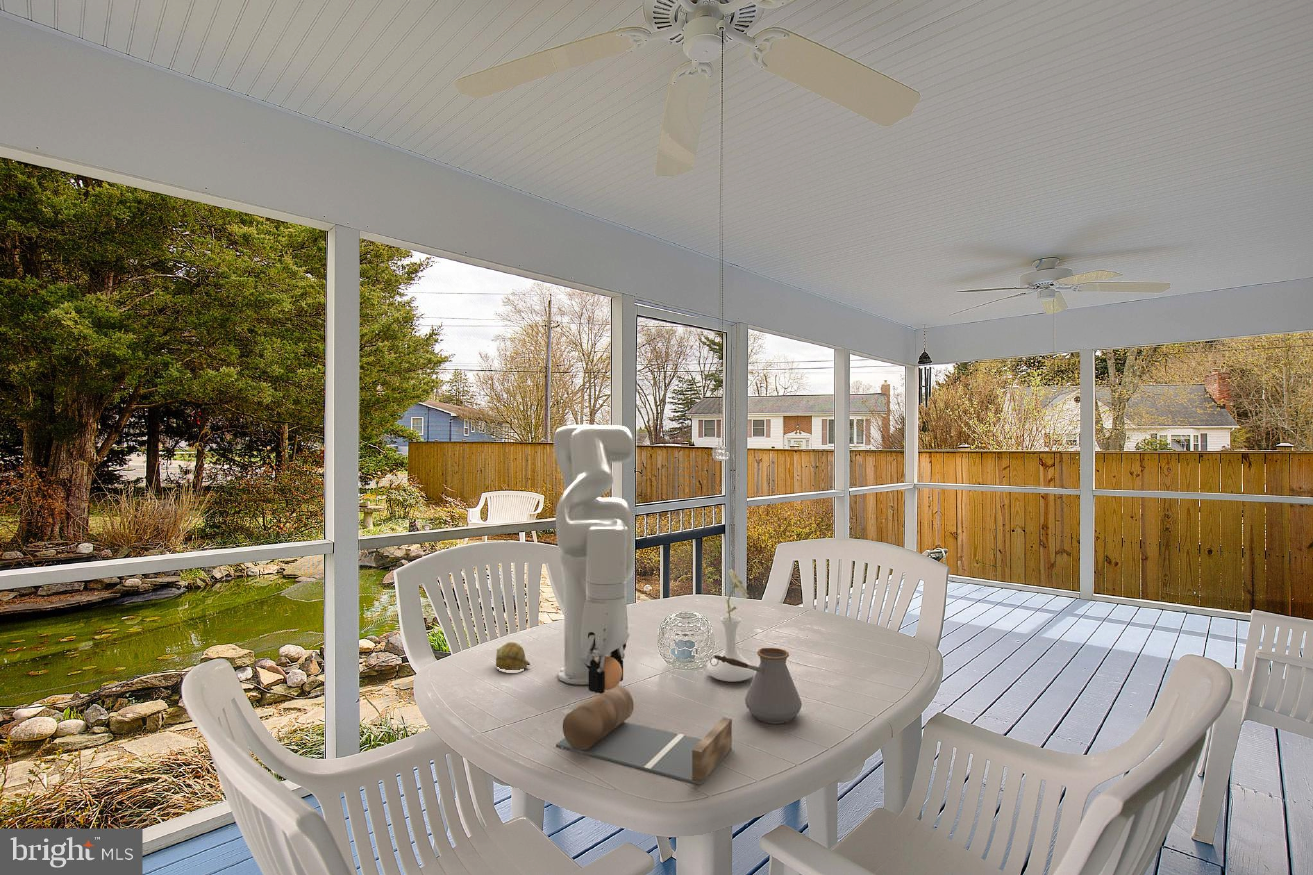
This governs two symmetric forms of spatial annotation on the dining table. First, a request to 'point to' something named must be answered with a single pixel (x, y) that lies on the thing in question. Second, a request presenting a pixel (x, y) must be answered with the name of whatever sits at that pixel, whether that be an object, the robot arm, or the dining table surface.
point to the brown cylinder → (597, 717)
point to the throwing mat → (646, 750)
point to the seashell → (511, 657)
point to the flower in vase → (731, 644)
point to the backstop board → (711, 749)
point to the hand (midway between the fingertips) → (606, 684)
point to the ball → (611, 672)
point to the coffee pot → (770, 687)
